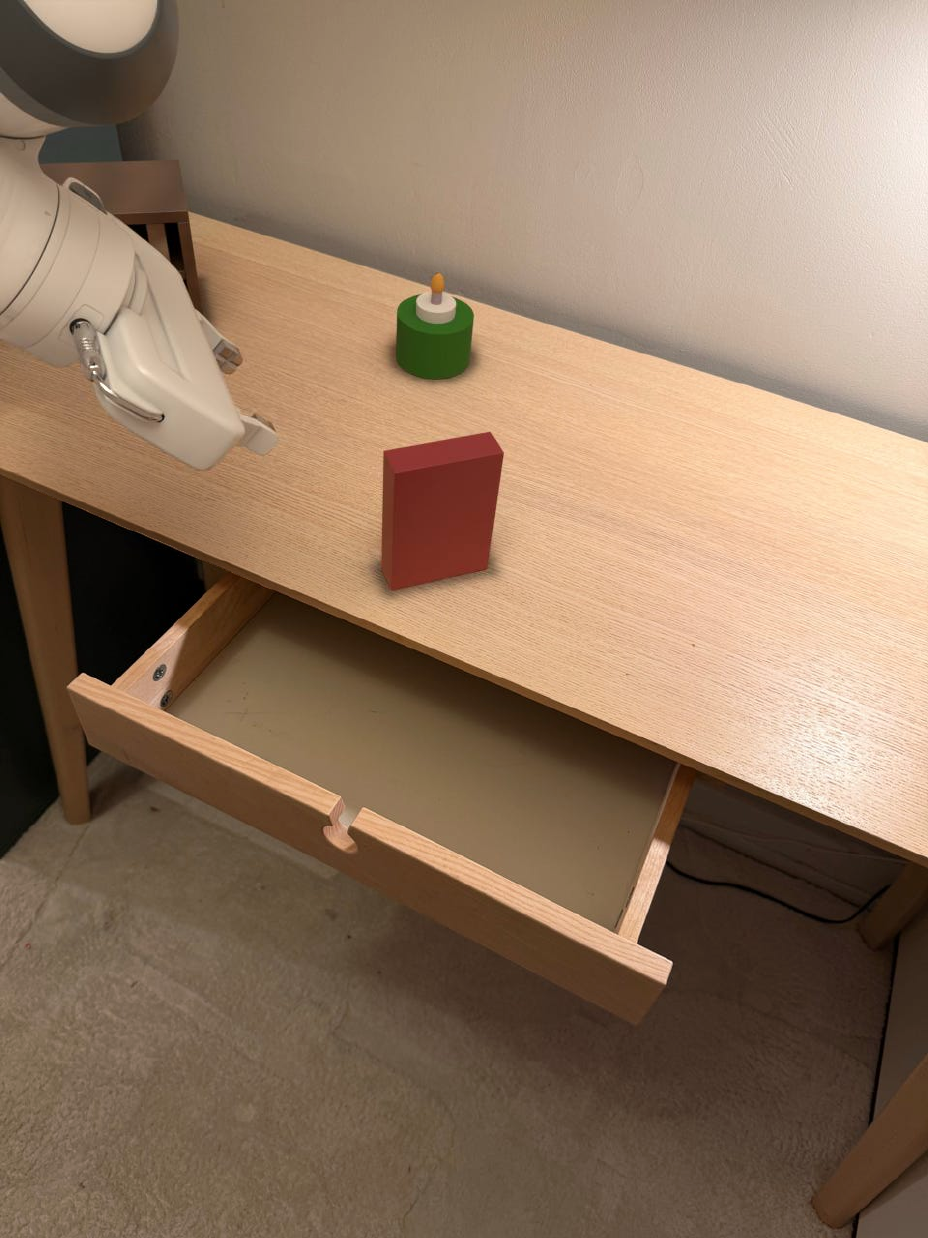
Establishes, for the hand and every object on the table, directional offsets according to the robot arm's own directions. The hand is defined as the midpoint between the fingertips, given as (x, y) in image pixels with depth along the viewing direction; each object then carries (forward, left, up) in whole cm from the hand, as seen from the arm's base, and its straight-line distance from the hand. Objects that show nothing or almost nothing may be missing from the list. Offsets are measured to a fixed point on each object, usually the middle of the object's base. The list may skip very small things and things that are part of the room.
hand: (252, 400), depth 61 cm
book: (+14, +1, -20) cm, 24 cm away
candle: (+22, +33, -20) cm, 44 cm away
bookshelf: (-10, +47, -20) cm, 52 cm away
